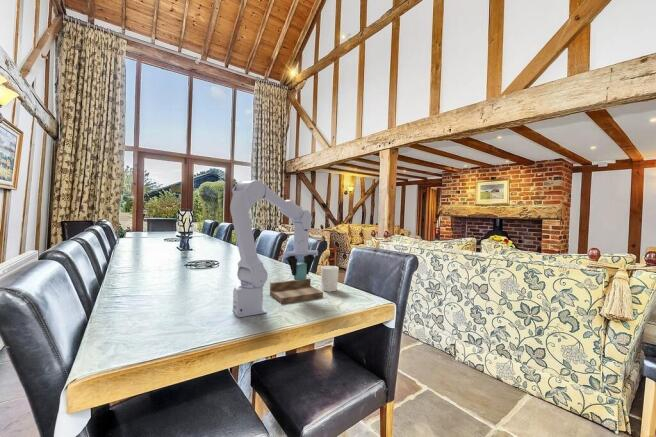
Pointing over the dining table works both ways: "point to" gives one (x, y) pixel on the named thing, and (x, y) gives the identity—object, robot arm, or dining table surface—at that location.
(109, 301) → the dining table surface
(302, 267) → the teal round canister
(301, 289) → the walnut shelf
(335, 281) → the white cup
